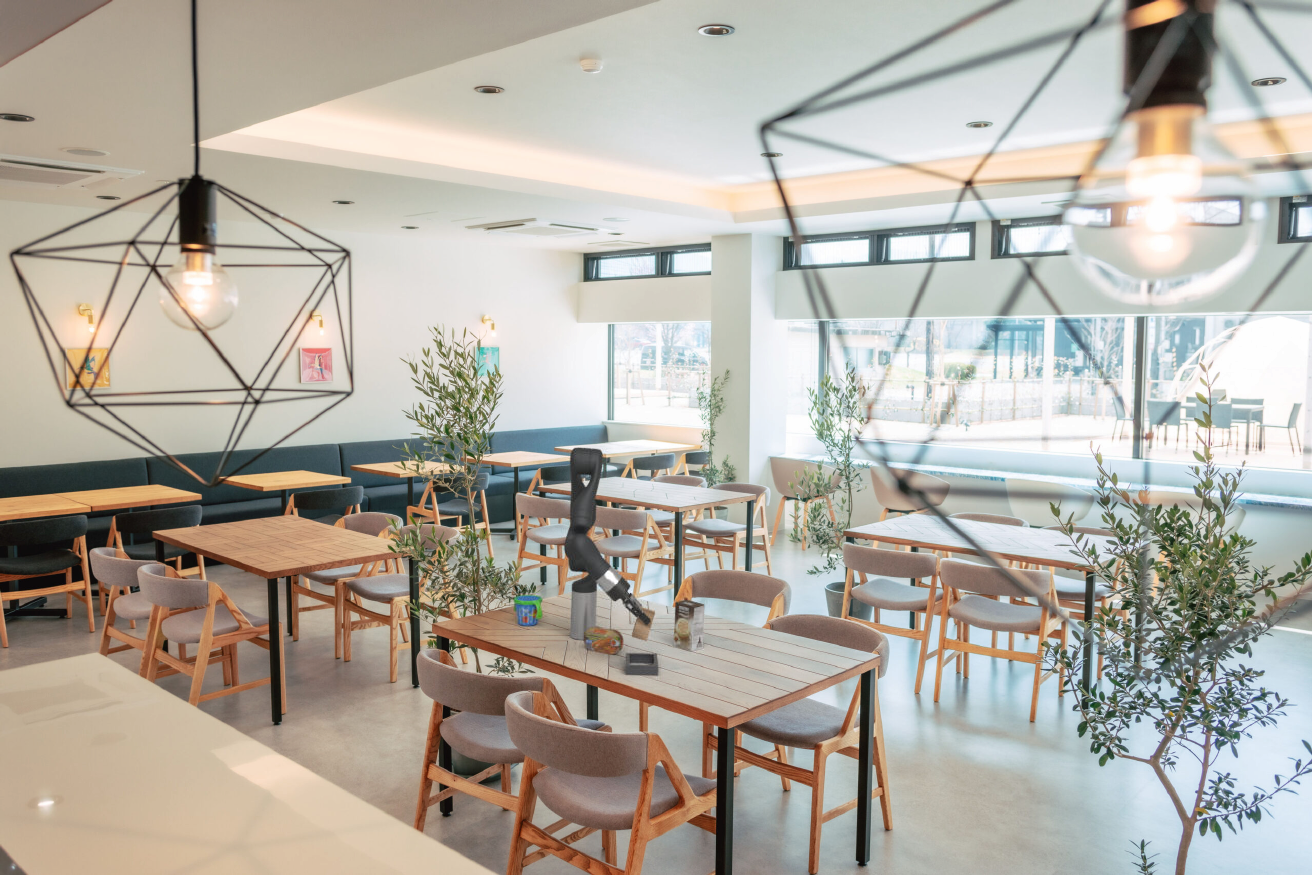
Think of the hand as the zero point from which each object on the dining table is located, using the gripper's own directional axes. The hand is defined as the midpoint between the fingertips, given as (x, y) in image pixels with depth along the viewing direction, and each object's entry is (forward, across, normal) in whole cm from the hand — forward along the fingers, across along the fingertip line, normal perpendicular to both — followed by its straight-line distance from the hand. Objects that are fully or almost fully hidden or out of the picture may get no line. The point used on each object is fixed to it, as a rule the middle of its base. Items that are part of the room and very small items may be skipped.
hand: (648, 621), depth 301 cm
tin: (+1, +18, +22) cm, 28 cm away
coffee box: (+22, +26, +1) cm, 34 cm away
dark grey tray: (+10, 0, +12) cm, 16 cm away
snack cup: (-20, +52, +43) cm, 71 cm away
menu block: (+2, 0, +6) cm, 6 cm away
